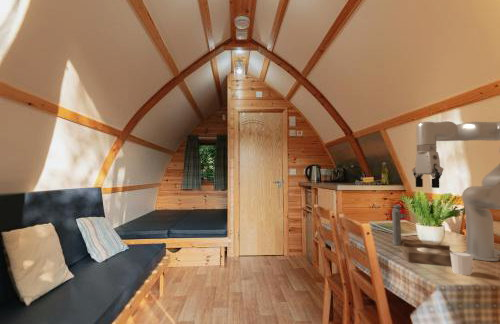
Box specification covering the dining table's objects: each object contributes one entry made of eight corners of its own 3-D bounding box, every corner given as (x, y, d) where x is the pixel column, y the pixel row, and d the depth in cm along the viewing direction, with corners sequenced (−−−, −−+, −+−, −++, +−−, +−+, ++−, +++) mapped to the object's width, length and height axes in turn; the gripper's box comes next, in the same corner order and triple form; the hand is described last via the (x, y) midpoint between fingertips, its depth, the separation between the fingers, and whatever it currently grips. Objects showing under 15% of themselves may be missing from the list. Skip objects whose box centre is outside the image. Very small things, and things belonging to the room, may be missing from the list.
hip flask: (393, 238, 160) (392, 204, 161) (401, 239, 158) (400, 204, 159) (392, 244, 146) (392, 206, 147) (401, 245, 144) (400, 207, 145)
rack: (449, 258, 121) (448, 245, 121) (459, 266, 110) (459, 252, 110) (402, 254, 127) (402, 242, 127) (408, 262, 116) (408, 248, 116)
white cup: (478, 276, 99) (477, 257, 99) (456, 275, 100) (455, 255, 101) (467, 270, 105) (466, 252, 106) (447, 269, 107) (446, 250, 107)
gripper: (449, 147, 117) (450, 188, 116) (420, 151, 134) (420, 186, 133) (433, 147, 116) (434, 188, 115) (405, 151, 133) (406, 186, 132)
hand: (427, 187), depth 124 cm, fingers open, 9 cm apart
